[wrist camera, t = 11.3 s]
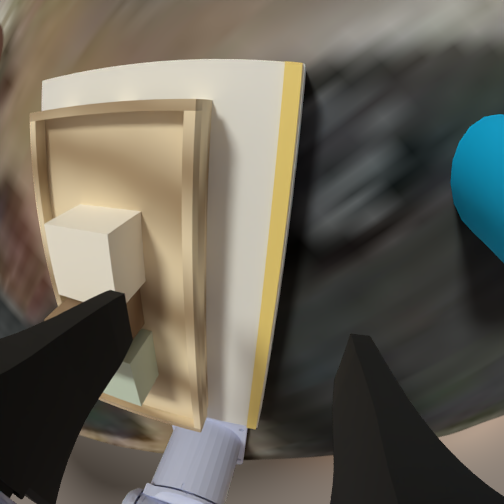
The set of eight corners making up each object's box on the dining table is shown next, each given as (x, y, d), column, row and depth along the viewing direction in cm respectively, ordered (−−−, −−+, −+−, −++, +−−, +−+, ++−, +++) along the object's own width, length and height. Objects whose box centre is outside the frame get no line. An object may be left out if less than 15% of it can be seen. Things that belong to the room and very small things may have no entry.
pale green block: (158, 374, 20) (141, 406, 17) (109, 359, 21) (89, 387, 18) (152, 331, 18) (130, 363, 16) (98, 316, 19) (73, 344, 16)
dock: (262, 405, 26) (256, 429, 24) (104, 364, 28) (92, 382, 26) (306, 70, 15) (304, 63, 12) (66, 80, 17) (40, 80, 14)
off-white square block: (145, 281, 17) (118, 312, 14) (88, 268, 17) (58, 294, 15) (140, 211, 15) (107, 234, 12) (80, 204, 15) (44, 223, 13)
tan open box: (210, 406, 24) (184, 477, 17) (105, 374, 25) (67, 430, 19) (216, 100, 14) (145, 97, 8) (61, 108, 15) (-30, 125, 9)
